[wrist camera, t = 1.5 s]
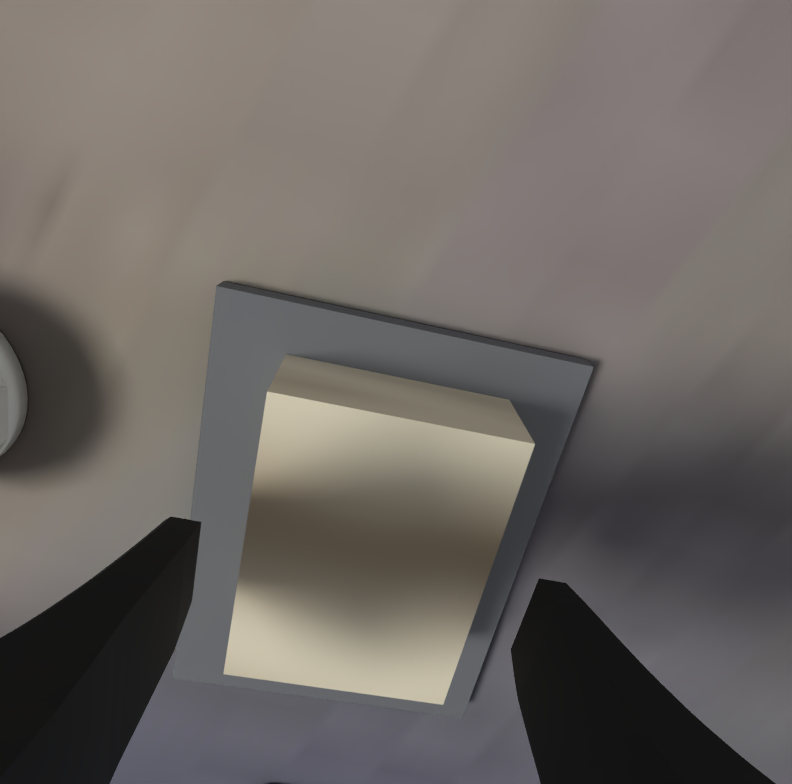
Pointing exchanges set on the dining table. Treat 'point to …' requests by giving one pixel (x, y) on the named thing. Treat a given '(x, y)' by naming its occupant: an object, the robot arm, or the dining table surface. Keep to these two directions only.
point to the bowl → (11, 396)
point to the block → (371, 529)
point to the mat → (372, 351)
